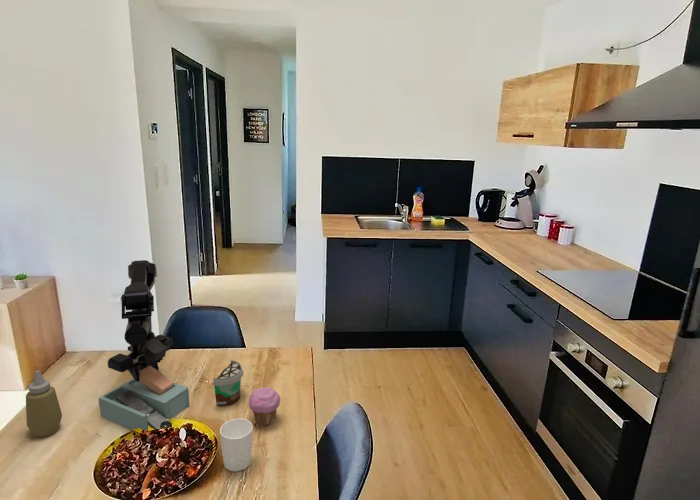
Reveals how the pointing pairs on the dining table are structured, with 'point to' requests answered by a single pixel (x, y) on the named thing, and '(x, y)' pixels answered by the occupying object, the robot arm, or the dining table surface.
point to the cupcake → (264, 404)
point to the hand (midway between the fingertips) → (144, 377)
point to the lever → (143, 410)
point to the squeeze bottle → (42, 407)
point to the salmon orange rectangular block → (155, 380)
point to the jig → (134, 419)
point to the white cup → (236, 444)
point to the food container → (228, 385)
